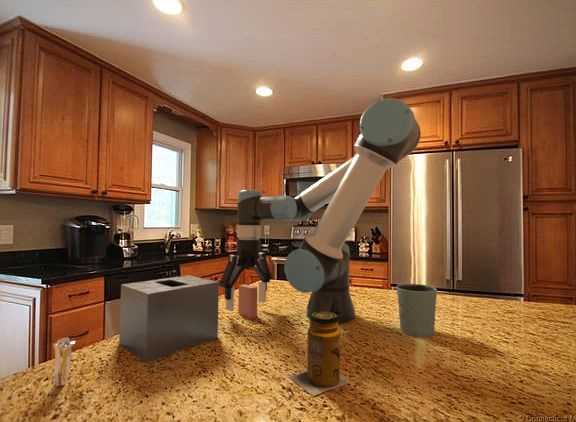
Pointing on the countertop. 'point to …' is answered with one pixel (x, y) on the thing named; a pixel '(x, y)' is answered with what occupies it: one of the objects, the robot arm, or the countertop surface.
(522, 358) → the countertop surface
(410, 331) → the grey cup
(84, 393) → the countertop surface
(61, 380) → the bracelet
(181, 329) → the coin box
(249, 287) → the block
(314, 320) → the condiment
